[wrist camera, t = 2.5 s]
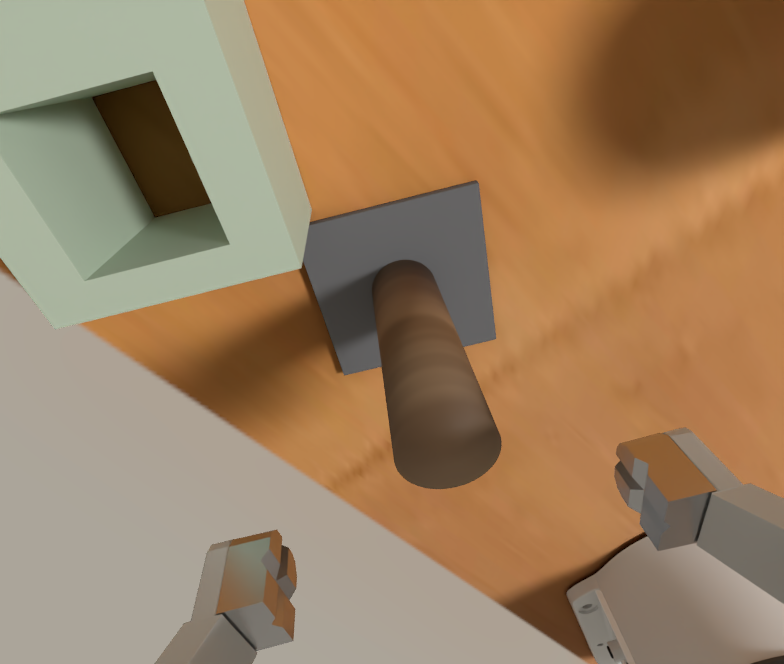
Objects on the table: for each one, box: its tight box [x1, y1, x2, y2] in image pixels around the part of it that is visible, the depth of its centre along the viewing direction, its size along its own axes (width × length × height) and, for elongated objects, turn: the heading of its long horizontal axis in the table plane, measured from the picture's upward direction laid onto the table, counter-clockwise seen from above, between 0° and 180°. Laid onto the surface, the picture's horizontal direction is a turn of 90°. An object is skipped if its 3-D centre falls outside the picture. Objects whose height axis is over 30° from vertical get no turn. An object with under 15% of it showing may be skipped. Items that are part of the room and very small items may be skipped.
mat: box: [303, 181, 496, 375], centre depth 21 cm, size 8×8×1 cm
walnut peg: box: [372, 260, 501, 489], centre depth 17 cm, size 3×3×10 cm
